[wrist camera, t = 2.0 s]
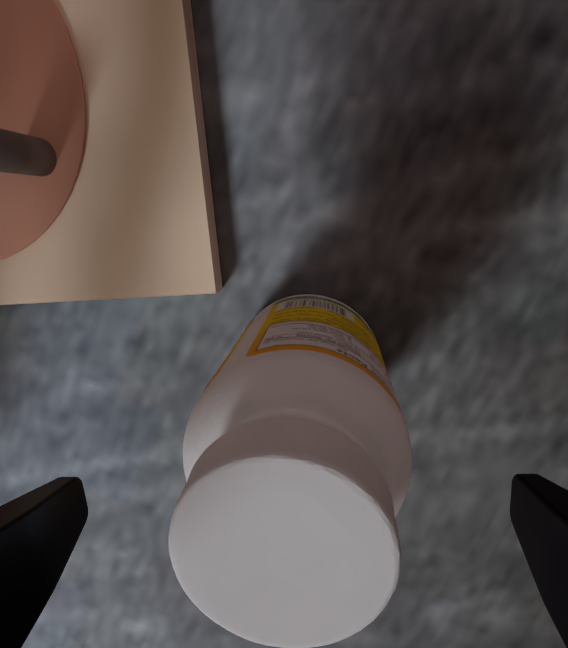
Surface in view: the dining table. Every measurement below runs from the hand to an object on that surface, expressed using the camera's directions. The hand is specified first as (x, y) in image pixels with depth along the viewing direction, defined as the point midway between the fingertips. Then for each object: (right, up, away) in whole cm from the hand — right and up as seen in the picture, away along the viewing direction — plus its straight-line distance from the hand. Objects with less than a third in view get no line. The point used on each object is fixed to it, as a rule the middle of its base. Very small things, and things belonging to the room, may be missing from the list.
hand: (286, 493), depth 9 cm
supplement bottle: (+1, +2, +8) cm, 8 cm away
